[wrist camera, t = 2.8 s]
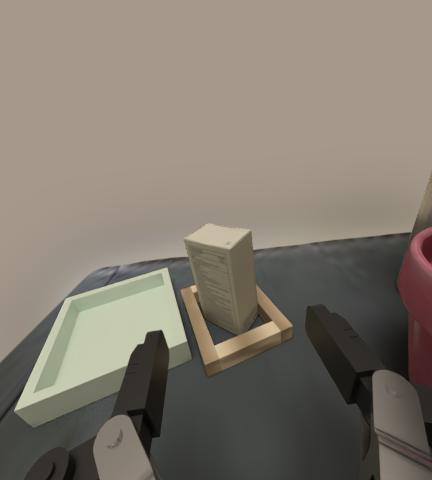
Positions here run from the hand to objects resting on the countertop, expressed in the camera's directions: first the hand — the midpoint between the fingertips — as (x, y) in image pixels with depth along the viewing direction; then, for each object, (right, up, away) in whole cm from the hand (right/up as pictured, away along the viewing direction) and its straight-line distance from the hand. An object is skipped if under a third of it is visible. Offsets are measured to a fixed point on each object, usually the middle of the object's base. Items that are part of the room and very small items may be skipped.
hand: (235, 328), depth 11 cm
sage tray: (-13, -7, +15) cm, 22 cm away
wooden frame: (+1, -5, +15) cm, 16 cm away
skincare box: (+1, -5, +16) cm, 16 cm away
